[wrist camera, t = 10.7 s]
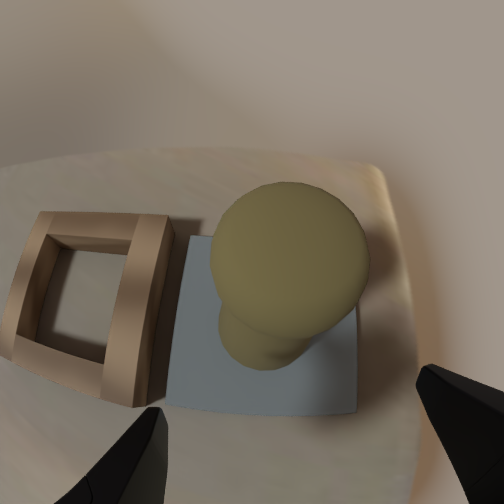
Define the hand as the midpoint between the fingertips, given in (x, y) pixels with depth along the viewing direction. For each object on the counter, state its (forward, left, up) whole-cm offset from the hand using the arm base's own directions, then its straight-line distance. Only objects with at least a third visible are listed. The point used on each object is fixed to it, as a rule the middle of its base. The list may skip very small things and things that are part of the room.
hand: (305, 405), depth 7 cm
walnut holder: (+5, +15, -9) cm, 18 cm away
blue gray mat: (+5, +1, -9) cm, 10 cm away
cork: (+5, +1, -9) cm, 10 cm away
